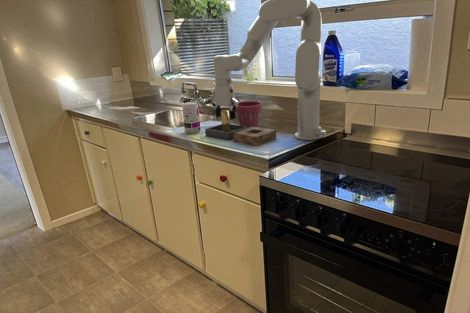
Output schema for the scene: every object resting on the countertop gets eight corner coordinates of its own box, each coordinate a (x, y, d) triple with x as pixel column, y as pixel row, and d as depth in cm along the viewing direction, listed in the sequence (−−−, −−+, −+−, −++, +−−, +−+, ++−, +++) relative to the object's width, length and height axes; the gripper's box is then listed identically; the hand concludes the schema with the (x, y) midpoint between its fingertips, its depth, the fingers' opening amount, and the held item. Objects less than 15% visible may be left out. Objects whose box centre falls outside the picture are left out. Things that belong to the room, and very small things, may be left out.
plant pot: (263, 129, 177) (262, 104, 173) (236, 131, 177) (234, 106, 173) (261, 123, 191) (260, 100, 187) (235, 125, 191) (234, 101, 187)
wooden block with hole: (276, 138, 161) (276, 129, 159) (257, 145, 151) (256, 137, 150) (253, 134, 170) (252, 126, 169) (233, 141, 160) (233, 132, 159)
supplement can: (201, 129, 186) (198, 101, 181) (200, 133, 178) (197, 104, 173) (186, 130, 186) (183, 102, 181) (184, 134, 178) (181, 105, 173)
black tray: (248, 133, 172) (248, 126, 171) (228, 140, 162) (228, 133, 161) (225, 129, 182) (224, 123, 181) (205, 135, 173) (205, 128, 172)
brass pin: (232, 132, 172) (230, 110, 169) (227, 134, 169) (224, 112, 166) (226, 131, 175) (224, 110, 171) (221, 133, 172) (218, 111, 169)
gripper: (242, 81, 161) (244, 118, 167) (216, 80, 172) (218, 114, 178) (231, 83, 156) (233, 121, 161) (205, 82, 167) (208, 117, 173)
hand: (225, 117), depth 170 cm, fingers open, 9 cm apart
